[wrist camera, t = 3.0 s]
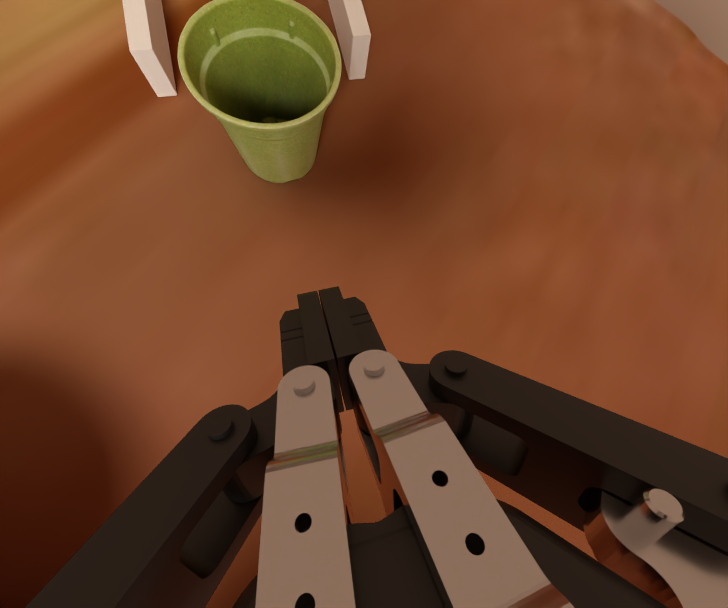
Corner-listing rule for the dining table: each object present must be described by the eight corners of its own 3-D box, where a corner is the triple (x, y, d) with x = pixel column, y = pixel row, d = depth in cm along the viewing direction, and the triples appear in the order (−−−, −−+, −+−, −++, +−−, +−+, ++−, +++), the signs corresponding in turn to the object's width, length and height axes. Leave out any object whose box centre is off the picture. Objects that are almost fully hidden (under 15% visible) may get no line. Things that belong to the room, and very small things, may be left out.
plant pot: (351, 130, 28) (363, 31, 20) (311, 220, 26) (306, 151, 18) (252, 88, 28) (222, -33, 19) (203, 176, 26) (145, 84, 17)
